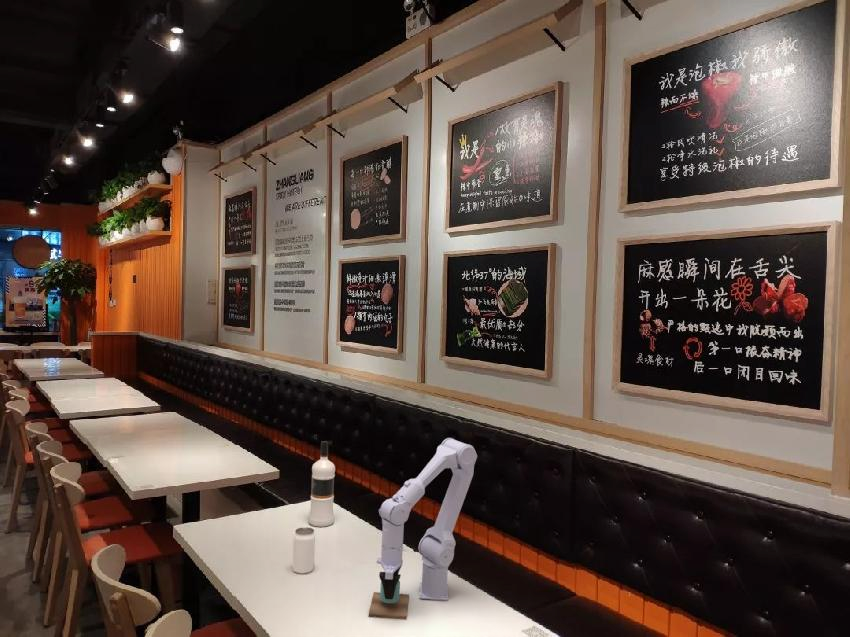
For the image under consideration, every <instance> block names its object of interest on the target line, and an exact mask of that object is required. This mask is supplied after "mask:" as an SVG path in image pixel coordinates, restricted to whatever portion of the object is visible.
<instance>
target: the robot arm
mask: <svg viewBox="0 0 850 637" xmlns="http://www.w3.org/2000/svg"><path fill="white" fill-rule="evenodd" d="M477 458H478V455H477V452H476V450H475V448H474V446H473V445H471V444H467V443H464V442H462V441H459V440H456V439H455V438H452V437H447V438H445V439H444V440H443V441H442V442H441V444H439V445H438V446H437V448H436V452H435V454H434V455H433V457H432V458H431V459H430V461H429V462H427V464H426V466H425V467H424V468H423V469H422V471H421V472H420V473H419V474H418V476H416V477H415V478H410V479H408V480H406V481H405V482H404V483H403V486H402V487H401V488H400V489H399V490H398V491H397V492H396V493H395V494H394V495H393V496H392V498H387V499H385V501H383V502H382V504H381V506H380V508H379V509H378V513H379V516H380V517H381V524H382V529H381V530H382V532H381V534H382V536H381V555H380V557H377V558H376V564H380V565H381V567H382V569H383V570H384V571H379V575H378V576H379V577H378V578H379V580H380V583H381V582H382V584H383V589H384V596H385V599H393V597H394V593H395V588H396V585H397V583H398V581H400V579H401V575H402V574H399V572H400V571H401V568H402V566H403V564H404V561H403V550H404V549H403V548H404V547H403V544H404V527H405V526H404V525H405V523H406V522H407V521H408V519H409V517H410V512H412V511H411V510H412V508H413V507H414V506H415V505H416V504H417V503H418V501H419V500H420V499H422V497H424V495H425V492H426V490H425V489H426V487H427V486H428V485H429V484H430V483H431V482H432V481H433V480H434V479H435V478H436V477H438V475H439V474H440V473H441V472H443V471H444V470H445V469H451V472H452V477H451V480H450V482H449V485H448V488H447V490H446V493H445V496H444V499H443V500H442V503H441V506H440V510H439V512H438V515H437V517H436V520H435V523H434V525H433V526H431V527H429V528H428V529H426V532H425V533H424V535H423V537H422V538H421V539H420V541H419V544H418V548H417V549H418V552H419V554H420V556H421V561H422V569H421V570H422V572H421V582H420V588H419V599H420V600H432V601H433V600H434V601H448V600H449V584H448V571H449V569H448V568H449V567H450V564H451V563H452V561H453V560H454V556H455V548H456V547H455V546H456V540H455V538H454V535H453V532H454V529H455V527H456V523H457V521H458V518H459V515H460V512H461V509H462V507H463V504H464V501H465V499H466V496H467V493H468V491H469V488H470V485H471V482H472V479H473V476H474V472H475V471H474V469H475V464H476V461H477Z"/></svg>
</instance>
